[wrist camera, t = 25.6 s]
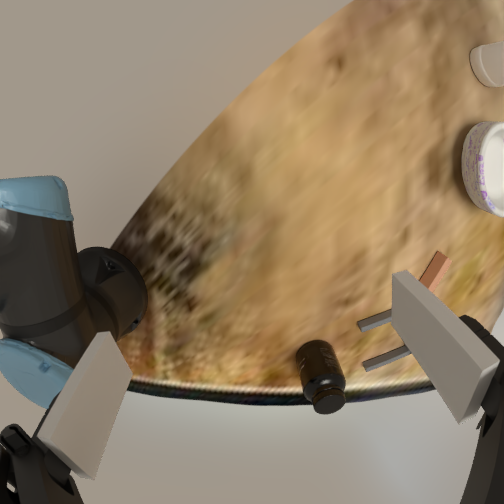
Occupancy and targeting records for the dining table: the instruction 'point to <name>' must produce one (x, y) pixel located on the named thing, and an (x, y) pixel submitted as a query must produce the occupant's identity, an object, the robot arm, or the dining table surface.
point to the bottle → (489, 64)
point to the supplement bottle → (321, 377)
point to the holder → (428, 280)
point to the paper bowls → (485, 166)
